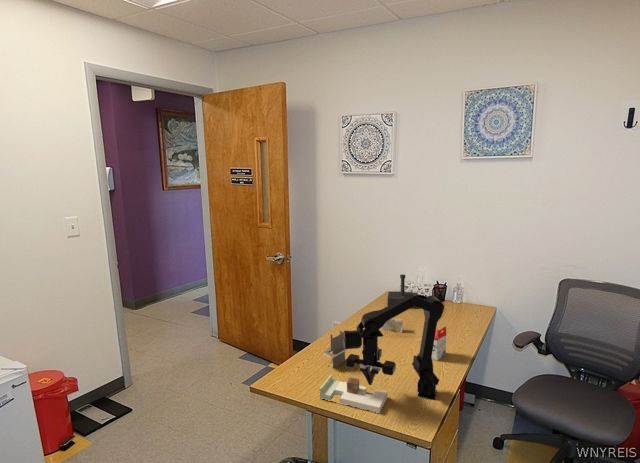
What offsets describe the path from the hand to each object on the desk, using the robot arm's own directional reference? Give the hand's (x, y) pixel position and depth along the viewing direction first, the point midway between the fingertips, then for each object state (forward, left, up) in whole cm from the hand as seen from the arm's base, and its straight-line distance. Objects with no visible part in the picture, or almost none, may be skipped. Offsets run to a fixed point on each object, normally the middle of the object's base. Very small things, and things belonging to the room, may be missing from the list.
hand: (370, 384), depth 149 cm
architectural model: (+23, -20, -6) cm, 31 cm away
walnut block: (+7, +1, -3) cm, 8 cm away
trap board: (+6, +3, -6) cm, 9 cm away
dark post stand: (+12, -110, -6) cm, 111 cm away
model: (+8, -65, -6) cm, 66 cm away
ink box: (-19, -44, -6) cm, 49 cm away
